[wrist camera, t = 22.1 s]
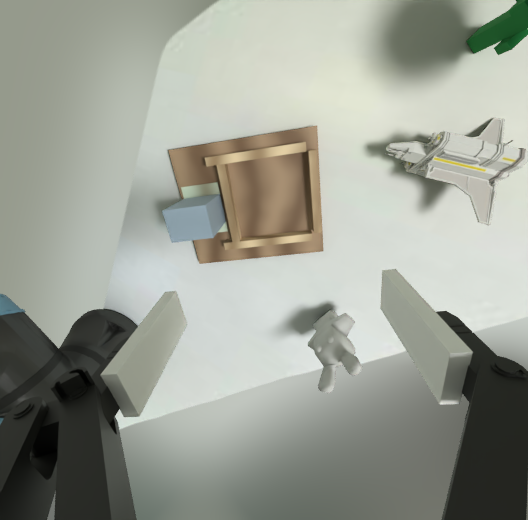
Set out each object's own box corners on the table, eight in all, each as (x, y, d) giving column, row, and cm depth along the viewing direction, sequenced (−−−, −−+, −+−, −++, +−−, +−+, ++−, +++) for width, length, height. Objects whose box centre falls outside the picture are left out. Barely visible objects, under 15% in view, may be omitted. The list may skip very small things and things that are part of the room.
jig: (201, 260, 46) (196, 268, 44) (171, 150, 39) (162, 150, 36) (322, 248, 44) (324, 255, 41) (315, 126, 36) (318, 124, 33)
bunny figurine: (318, 337, 52) (329, 405, 38) (299, 323, 51) (305, 389, 37) (353, 309, 48) (379, 373, 35) (334, 294, 47) (354, 354, 34)
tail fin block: (191, 225, 42) (171, 242, 35) (184, 198, 40) (161, 210, 33) (225, 221, 41) (213, 237, 34) (220, 193, 39) (205, 205, 32)
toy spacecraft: (527, 216, 28) (541, 98, 30) (393, 184, 28) (415, 68, 30) (468, 233, 36) (482, 139, 38) (364, 208, 36) (383, 115, 38)
